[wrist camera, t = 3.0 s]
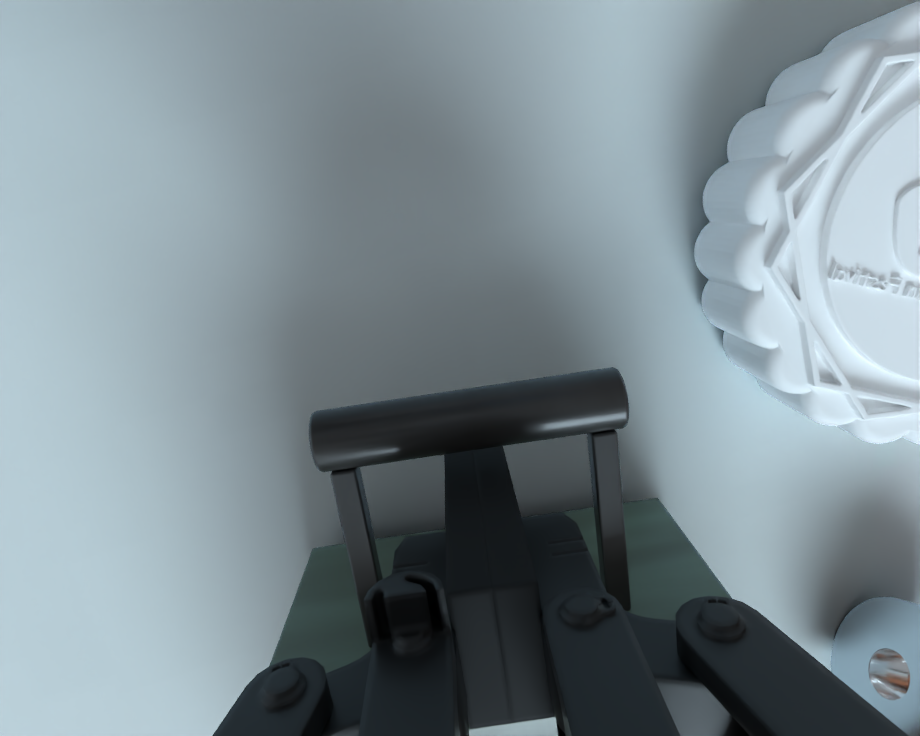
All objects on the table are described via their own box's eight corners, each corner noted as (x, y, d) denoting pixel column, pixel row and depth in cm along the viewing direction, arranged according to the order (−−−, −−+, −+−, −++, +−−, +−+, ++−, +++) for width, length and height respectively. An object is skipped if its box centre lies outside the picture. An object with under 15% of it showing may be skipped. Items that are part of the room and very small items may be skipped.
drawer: (269, 369, 18) (147, 489, 11) (646, 313, 18) (796, 393, 11) (389, 867, 24) (365, 1181, 16) (678, 826, 24) (791, 1121, 16)
